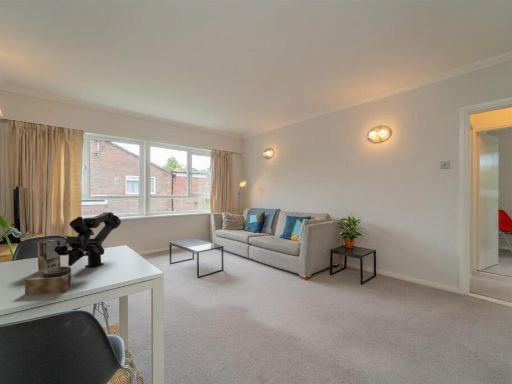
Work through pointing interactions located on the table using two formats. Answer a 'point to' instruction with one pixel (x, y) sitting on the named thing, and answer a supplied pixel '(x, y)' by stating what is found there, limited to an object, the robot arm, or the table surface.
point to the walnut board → (46, 285)
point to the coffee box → (48, 255)
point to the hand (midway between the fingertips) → (69, 265)
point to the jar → (58, 272)
